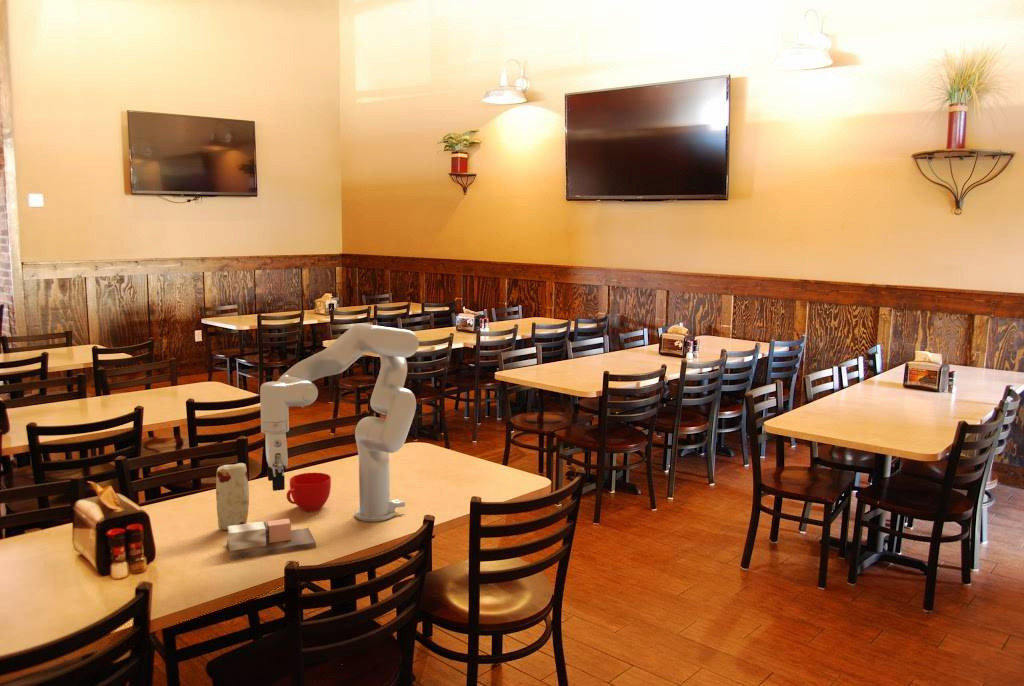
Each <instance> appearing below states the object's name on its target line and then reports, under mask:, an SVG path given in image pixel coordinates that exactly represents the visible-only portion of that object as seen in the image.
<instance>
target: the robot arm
mask: <svg viewBox="0 0 1024 686" xmlns="http://www.w3.org/2000/svg"><path fill="white" fill-rule="evenodd" d="M419 345H420V341H419V337H418V336H417V334H416V333H415V332H413V330H409V329H402V328H397V327H390V326H381V325H375V324H370V323H362V322H361V323H360V322H359V323H356V324H354V325H352V326H350V327H349V328H348V329H347V330H346V331H345V332H344V333H342V334H341V335H340V336H339V337H338V338H337V339H336V340H334V341H333V342H332V343H331V344H329V345H328V346H327V347H326V348H325V349H323V350H321V351H319V352H317V353H314V354H313V355H310V356H309V357H307V358H305V359H302V360H300V361H299V362H297V363H296V364H293V366H292V367H290V368H289V369H288V370H287V371H285V372H284V373H282V375H281V376H279V378H278V379H277V381H267V382H263V383H262V384H261V386H260V388H259V389H260V391H259V393H260V395H259V396H260V401H259V402H260V432H261V433H263V434H265V435H264V436H265V441H264V442H265V456H266V457H265V458H266V463H267V480H268V481H269V482H272V483H271V484H272V491H275V492H276V491H284V490H285V489H286V488H285V485H286V483H285V472H284V467H285V468H287V467H289V463H288V462H289V459H288V457H289V456H288V442H287V433H288V432H289V431H290V421H289V419H290V418H289V417H290V416H289V415H290V414H289V413H290V411H289V409H290V407H306V406H307V407H308V406H310V405H312V404H314V402H315V401H316V400H317V398H318V395H319V390H318V388H317V386H316V385H315V383H313V381H315V380H318V379H320V378H324V377H329V376H334V375H337V374H341V373H343V372H344V371H347V369H348V368H349V367H350V366H351V365H352V364H355V362H356V361H358V359H360V358H361V357H362V356H363V355H364V354H365V353H367V354H368V353H370V354H374V355H378V356H379V359H380V369H379V374H378V376H377V379H376V381H375V382H376V383H375V385H374V388H373V390H372V393H371V396H370V397H371V398H370V404H369V405H370V407H371V409H372V410H373V411H374V412H376V413H378V414H381V415H383V416H386V418H381V417H377V416H366V417H363V418H361V419H360V420H359V421H358V422H357V424H356V426H355V430H354V432H355V433H354V437H355V443H356V447H357V454H358V489H359V490H358V491H359V492H358V493H359V495H358V496H359V508H358V509H356V510H355V512H354V517H355V518H356V519H358V520H360V521H363V522H381V521H387V520H390V519H392V518H393V517H394V516H395V515H396V508H404V507H406V501H405V500H400V499H394V500H392V499H391V486H390V485H391V483H390V482H391V481H390V480H391V478H390V477H391V476H390V475H391V473H390V471H391V470H390V469H391V468H390V467H391V466H390V456H389V454H394V453H397V452H398V451H400V449H402V448H403V446H404V444H405V442H406V439H407V436H408V433H409V432H410V428H411V425H412V423H413V419H414V417H415V414H416V409H417V400H416V396H415V394H414V393H413V391H412V390H410V389H408V388H405V387H404V386H405V382H406V379H407V375H408V374H407V373H408V363H407V360H406V358H411V357H412V356H414V355H415V353H417V351H418V349H419Z"/></svg>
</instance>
